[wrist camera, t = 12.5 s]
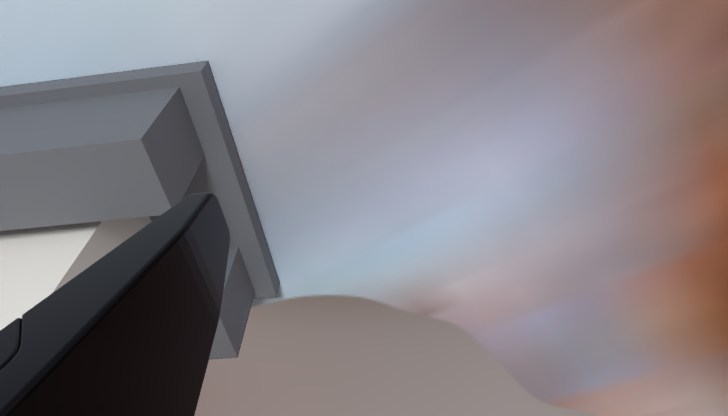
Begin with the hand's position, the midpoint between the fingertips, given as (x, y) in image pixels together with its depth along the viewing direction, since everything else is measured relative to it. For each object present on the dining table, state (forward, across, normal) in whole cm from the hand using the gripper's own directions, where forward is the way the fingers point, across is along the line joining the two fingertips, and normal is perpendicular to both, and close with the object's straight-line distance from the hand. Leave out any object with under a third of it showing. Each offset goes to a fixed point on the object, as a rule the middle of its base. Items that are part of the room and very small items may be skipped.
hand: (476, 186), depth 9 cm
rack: (+12, +15, +7) cm, 21 cm away
